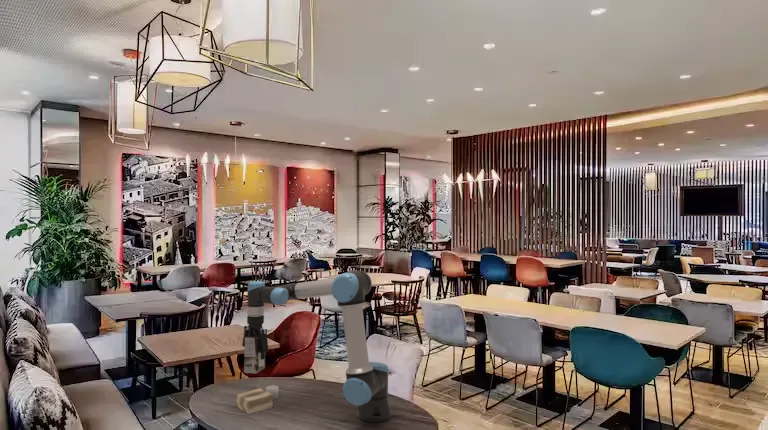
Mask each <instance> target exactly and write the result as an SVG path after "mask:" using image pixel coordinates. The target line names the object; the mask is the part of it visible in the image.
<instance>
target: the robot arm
mask: <svg viewBox="0 0 768 430" xmlns="http://www.w3.org/2000/svg"><path fill="white" fill-rule="evenodd" d="M265 285H266V284H265V282H264V281H260V280H257V281H256V280H255V281H249V283H248V285H247V291H246V292H247V305H246V309H247V310H246V311H247V312H246V314H247V316H246V322H247V323H246V324H247V325H244V326H243V330H244V331H243V337H242V344H241V345H242V347H244V348H245V337H247V336H251V335H254V336H255V337H260V340H259V350H260V352H259V354H258V367H261V366H264V359H265V360H266V352H268V351H269V343H268V329H267V328H263V324H264V323H265V304H267V305H268V304H269V305H270V304H271V305H276V306H278V305H281V306H282V305H285V304H286V303H287V302H288V301H294V300H295V301H296V300H301V299H302V300H303V299H309V298H318V297H319V298H320V297H327V296H332V297H333V298H334V299H335V300H336V301H337V306H338V308H340V310H341V311H342V320H343V328H344V337H345V347H346V355H347V364H348V367H347V369H346V370H345V376H346V377H345V378H346V380H345V382H344V384H343V386H342V393H343V395H344V398H345V399H346V400H347V401H348V402H349V403H350V404H351V405H353V406H358V408H357V414H356V415H357V418H358V419H359V420H362V421H363V422H368V423H382V422H385V421H388V420H390V419H391V418H392V415H393V414H392V411H393V410H392V408H391V405H390V402H389V395H388V393H389V366H388V365H387V364H386V363H384V362H377V361H376V362H375V361H369V354H368V353H369V352H368V344H367V335H366V328H365V320H364V319H365V318H364V311H363V306H364V305H365V304H366V297H365V296H366V295H368V294H369V293H370V291H371V290H372V279H371V277H370V275H369V274H368V273H367V272H365V271H363V270H353V271H349V272H344V273H341V274H339V275H337V276H336V277H333V278H332V277H331V278H326V279H319V280H311V281H303V282H296V283H294V282H293V283H288V284H285V285H278V286H265Z"/></svg>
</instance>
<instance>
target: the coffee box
mask: <svg viewBox="0 0 768 430" xmlns="http://www.w3.org/2000/svg"><path fill="white" fill-rule="evenodd" d="M259 340H260V337H255V336H254V335H251V336H247V337H245V347H244V361H243V366H244V367H243V373H246V374H256V375H257V374H258V373H259V372H261V371H262V370H264V369H266V358H265V359H264V366H261V367H258V354H259V352H260V350H259Z"/></svg>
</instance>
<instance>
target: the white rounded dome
mask: <svg viewBox="0 0 768 430" xmlns="http://www.w3.org/2000/svg"><path fill="white" fill-rule="evenodd" d="M265 391H266V392H268V393H270V394H272V395H273V401H274V400H276V399H279V386H278V385H275V384H271V385H270V384H269V385H267V386H266V387H265Z"/></svg>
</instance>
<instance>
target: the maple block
mask: <svg viewBox="0 0 768 430" xmlns="http://www.w3.org/2000/svg"><path fill="white" fill-rule="evenodd" d="M235 396H236V399H235V406H236V408H238V409H239V410H241V411H243V412H244V413H246V414H248V415H250V414H254V413H257V412H261V411H264V410H268V409H271V408H273V405H274V403H273V401H274V400H273V395H272V394H270V393H268V392H266V390H265V389H263V388H261V387H259V388H256V389H255V388H254V389H251V390H246V391H243V392H239V393H236V395H235Z"/></svg>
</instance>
